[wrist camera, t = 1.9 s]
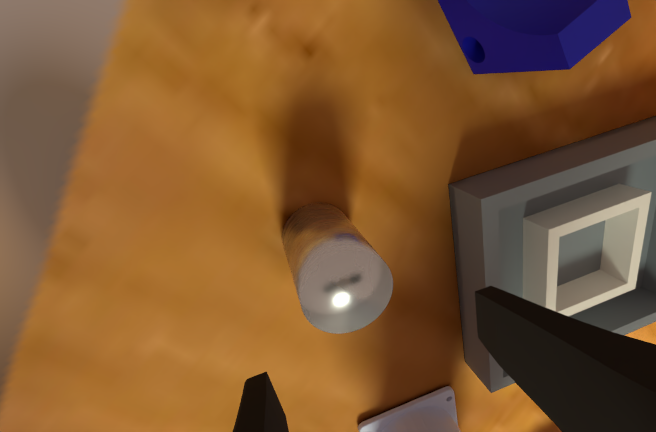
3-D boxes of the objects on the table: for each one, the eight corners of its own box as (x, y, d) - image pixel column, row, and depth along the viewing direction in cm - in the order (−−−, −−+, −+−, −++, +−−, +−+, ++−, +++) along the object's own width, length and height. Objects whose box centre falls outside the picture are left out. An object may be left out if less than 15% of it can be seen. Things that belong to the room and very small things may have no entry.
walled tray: (641, 288, 29) (683, 309, 26) (465, 361, 26) (491, 393, 24) (673, 110, 23) (733, 113, 20) (448, 184, 20) (481, 199, 18)
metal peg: (356, 253, 21) (399, 314, 15) (293, 275, 20) (314, 346, 15) (342, 193, 19) (384, 237, 14) (273, 215, 18) (289, 270, 13)
